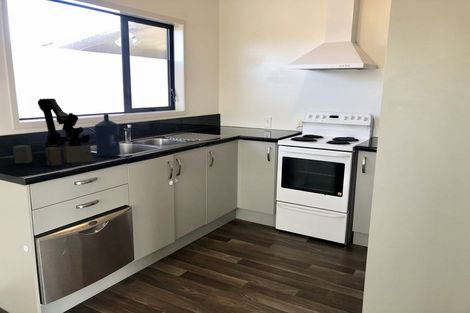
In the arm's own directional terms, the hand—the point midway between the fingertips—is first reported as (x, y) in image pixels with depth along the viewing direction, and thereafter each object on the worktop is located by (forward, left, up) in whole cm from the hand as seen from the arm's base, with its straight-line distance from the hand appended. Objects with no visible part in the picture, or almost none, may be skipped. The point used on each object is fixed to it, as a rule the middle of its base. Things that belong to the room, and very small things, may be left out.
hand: (79, 150), depth 226 cm
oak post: (+7, -13, -7) cm, 17 cm away
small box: (+1, -35, -8) cm, 36 cm away
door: (+2, -1, -7) cm, 7 cm away
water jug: (-26, +9, -8) cm, 28 cm away
